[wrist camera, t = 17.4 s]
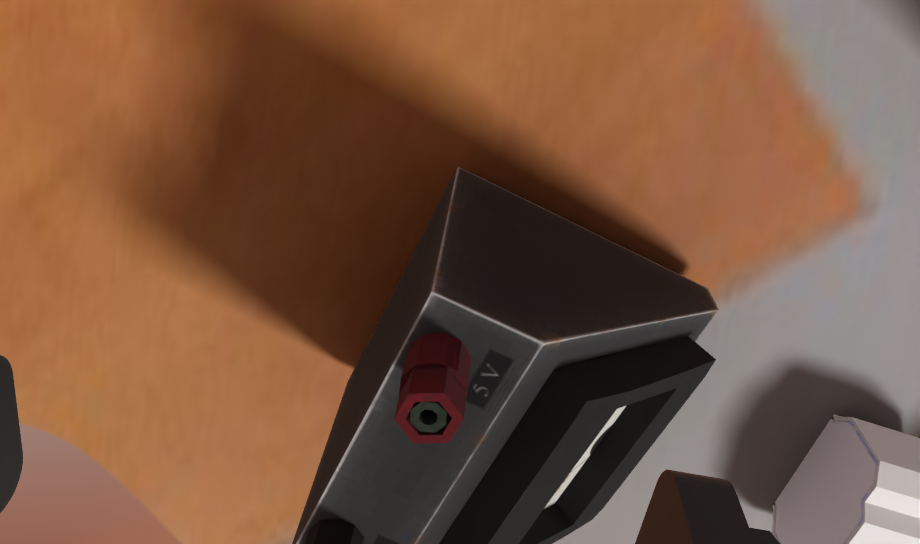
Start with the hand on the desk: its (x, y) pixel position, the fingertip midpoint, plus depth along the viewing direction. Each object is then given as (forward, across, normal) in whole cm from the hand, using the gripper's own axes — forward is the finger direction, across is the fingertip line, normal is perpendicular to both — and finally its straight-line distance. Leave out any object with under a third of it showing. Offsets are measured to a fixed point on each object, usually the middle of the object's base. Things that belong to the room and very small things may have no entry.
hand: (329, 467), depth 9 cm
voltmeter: (+34, -6, +17) cm, 39 cm away
